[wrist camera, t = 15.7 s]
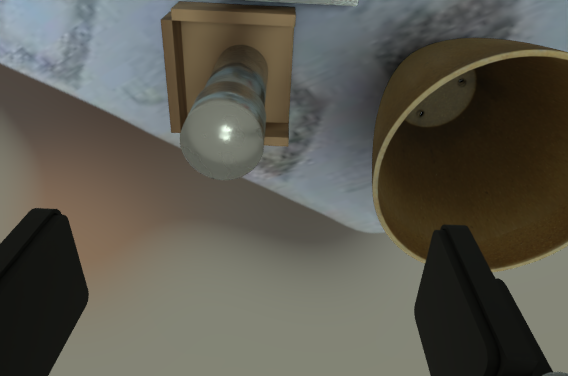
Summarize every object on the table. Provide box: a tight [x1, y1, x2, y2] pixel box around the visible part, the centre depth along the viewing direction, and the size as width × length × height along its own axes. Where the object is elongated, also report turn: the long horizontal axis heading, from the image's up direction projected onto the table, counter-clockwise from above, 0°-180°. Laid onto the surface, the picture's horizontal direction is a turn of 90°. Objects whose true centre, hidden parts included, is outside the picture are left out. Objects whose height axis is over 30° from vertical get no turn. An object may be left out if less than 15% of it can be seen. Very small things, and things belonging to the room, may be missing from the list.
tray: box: [161, 1, 296, 146], centre depth 37 cm, size 10×11×4 cm
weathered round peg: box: [180, 45, 268, 180], centre depth 32 cm, size 5×5×14 cm
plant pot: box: [372, 38, 568, 272], centre depth 33 cm, size 15×15×16 cm
